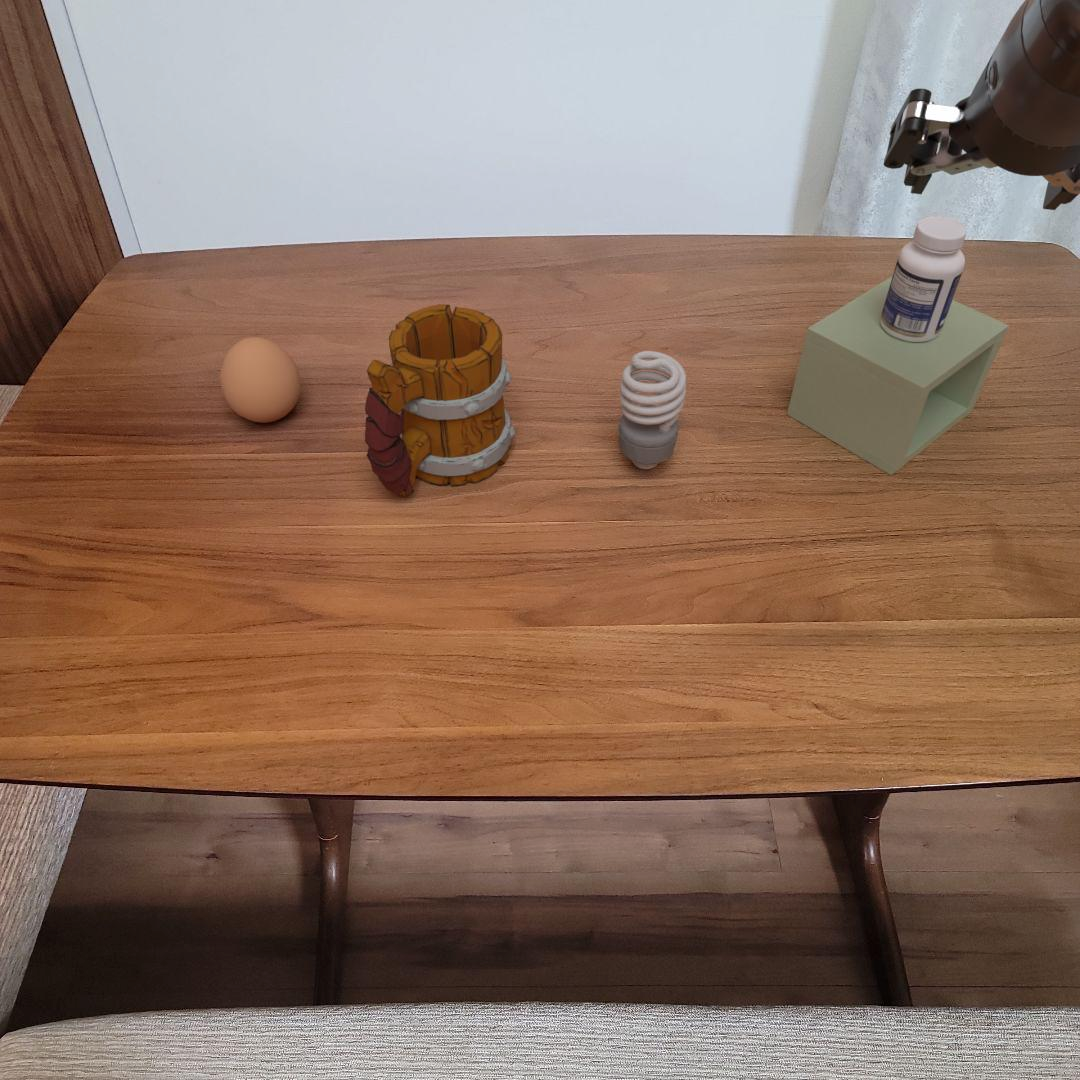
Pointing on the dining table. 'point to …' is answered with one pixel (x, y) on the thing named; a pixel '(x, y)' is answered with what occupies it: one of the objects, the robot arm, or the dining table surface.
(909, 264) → the pill bottle
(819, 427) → the shelf
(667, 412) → the light bulb
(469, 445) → the mug
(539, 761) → the dining table surface
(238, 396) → the egg
